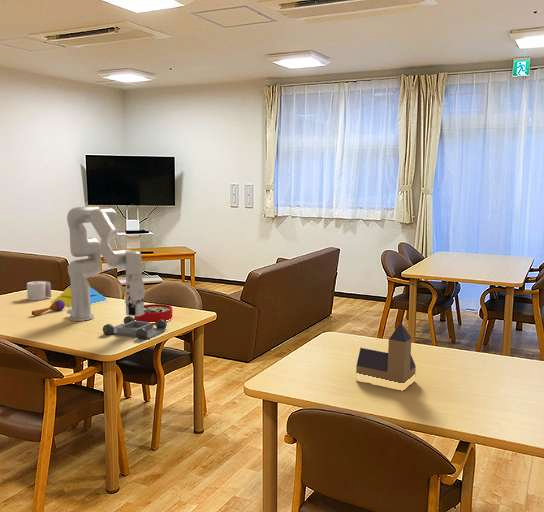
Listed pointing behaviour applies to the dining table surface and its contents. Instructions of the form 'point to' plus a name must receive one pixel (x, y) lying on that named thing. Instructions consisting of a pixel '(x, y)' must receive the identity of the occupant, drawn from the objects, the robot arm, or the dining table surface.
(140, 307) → the engine block
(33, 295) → the toilet tissue
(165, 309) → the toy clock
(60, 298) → the pyramid toy
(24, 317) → the dining table surface
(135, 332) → the chassis bay
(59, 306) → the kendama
